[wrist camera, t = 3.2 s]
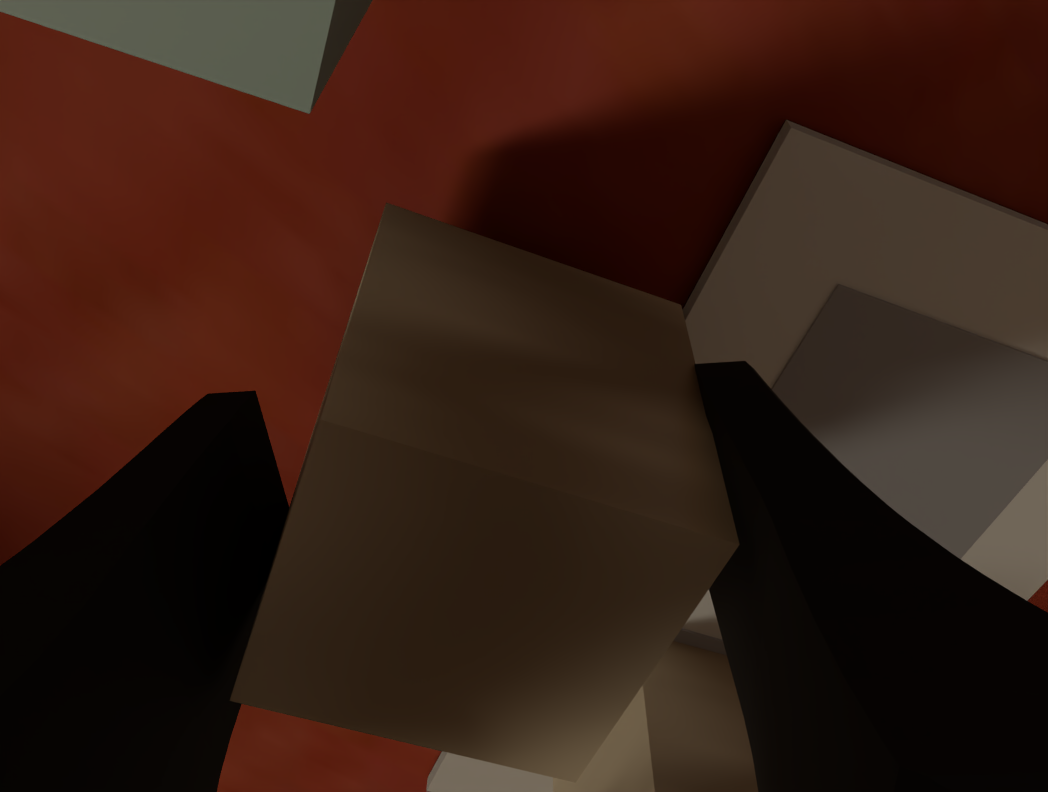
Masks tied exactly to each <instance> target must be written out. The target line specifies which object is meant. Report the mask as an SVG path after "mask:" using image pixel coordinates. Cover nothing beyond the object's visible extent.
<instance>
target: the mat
mask: <svg viewBox="0 0 1048 792" xmlns="http://www.w3.org/2000/svg"><path fill="white" fill-rule="evenodd" d="M683 314H684V318H685V322H686V327H687V331H688V335H689V339H690V343H691V347H692V351H693V355H694V359H695V364H701V363H717V362H733V361H746V362H747V363H748V364H749V365H751V366H752V367H753V368H754V369H755V370H756V372H757V373H758V374H759V375H760V376H761V378H762V379H763V380H764V381H765V382H766V383H767V385H768V386H769V387H770V388H771V389H772V390H773V392H774V393H775V394H776V395H777V396H778V397H779V398H780V400H781V401H782V402H783V403H784V404H785V405H786V406H787V407H788V408H789V410H790V411H791V412H792V413H793V414H794V415H795V416H796V417H797V418H798V419H799V421H800V422H801V423H802V424H803V425H804V426H805V427H806V428H807V429H808V430H809V431H810V432H811V433H812V434H813V435H814V436H815V437H816V438H817V439H818V440H819V441H820V442H821V443H822V444H823V445H824V446H825V447H826V448H827V449H828V450H829V451H830V452H831V453H832V454H833V455H834V456H835V457H836V458H837V459H838V460H839V461H840V462H841V463H842V464H843V465H844V466H845V467H846V468H847V469H848V470H849V471H850V472H851V473H852V474H854V475H855V476H856V477H857V478H858V479H859V480H860V481H861V482H862V483H863V484H864V485H866V486H867V487H868V488H869V489H870V490H871V491H872V492H874V493H875V494H876V495H877V496H878V497H879V498H880V499H882V500H883V501H884V502H885V503H886V504H887V505H888V506H890V507H891V508H892V509H893V510H894V511H896V512H897V513H898V514H899V515H901V516H902V517H903V518H904V519H906V520H907V521H908V522H910V523H911V524H912V525H914V526H915V527H916V528H918V529H919V530H921V531H922V532H923V533H925V534H926V535H927V536H929V537H930V538H932V539H933V540H934V541H936V542H937V543H938V544H940V545H941V546H942V547H944V548H945V549H947V550H948V551H949V552H951V553H952V554H954V555H955V556H956V557H958V558H959V559H961V560H962V561H964V562H965V563H967V564H969V565H970V566H972V567H973V568H975V569H976V570H978V571H979V572H981V573H982V574H984V575H985V576H987V577H989V578H990V579H992V580H994V581H995V582H997V583H999V584H1000V585H1002V586H1003V587H1005V588H1007V589H1008V590H1010V591H1012V592H1013V593H1015V594H1017V595H1018V596H1020V597H1022V598H1023V599H1025V600H1026V601H1027V600H1028V599H1029V598H1030V597H1031V596H1032V595H1033V594H1034V593H1035V592H1036V591H1037V590H1038V589H1039V588H1040V587H1041V586H1042V585H1043V584H1044V583H1045V582H1046V581H1047V580H1048V224H1046V223H1043V222H1041V221H1038V220H1036V219H1033V218H1031V217H1028V216H1026V215H1023V214H1021V213H1018V212H1016V211H1013V210H1011V209H1008V208H1006V207H1003V206H1001V205H998V204H996V203H993V202H991V201H988V200H986V199H983V198H981V197H978V196H976V195H973V194H971V193H968V192H966V191H963V190H961V189H958V188H956V187H953V186H951V185H948V184H946V183H943V182H941V181H938V180H936V179H933V178H931V177H928V176H926V175H923V174H921V173H918V172H916V171H913V170H911V169H908V168H906V167H903V166H901V165H898V164H896V163H893V162H891V161H888V160H886V159H883V158H881V157H878V156H876V155H873V154H871V153H868V152H866V151H863V150H861V149H858V148H856V147H853V146H851V145H848V144H846V143H843V142H841V141H838V140H836V139H833V138H831V137H828V136H826V135H823V134H821V133H818V132H816V131H813V130H811V129H808V128H806V127H803V126H801V125H798V124H796V123H793V122H791V121H788V120H786V121H785V123H784V125H783V126H782V128H781V130H780V132H779V134H778V136H777V137H776V139H775V141H774V143H773V145H772V147H771V148H770V150H769V152H768V154H767V156H766V158H765V159H764V161H763V163H762V165H761V167H760V169H759V170H758V172H757V174H756V176H755V178H754V180H753V181H752V183H751V185H750V187H749V189H748V191H747V192H746V194H745V196H744V198H743V200H742V202H741V204H740V205H739V207H738V209H737V211H736V213H735V215H734V216H733V218H732V220H731V222H730V224H729V226H728V227H727V229H726V231H725V233H724V235H723V237H722V238H721V240H720V242H719V244H718V246H717V248H716V249H715V251H714V253H713V255H712V257H711V259H710V260H709V262H708V264H707V266H706V268H705V270H704V271H703V273H702V275H701V277H700V279H699V281H698V282H697V284H696V286H695V288H694V290H693V292H692V293H691V295H690V297H689V299H688V301H687V303H686V304H685V306H684V308H683ZM673 641H676V642H679V643H683V644H687V645H690V646H694V647H698V648H701V649H705V650H709V651H712V652H716V653H719V654H723V655H727V654H726V651H725V647H724V643H723V640H722V636H721V632H720V629H719V625H718V621H717V618H716V614H715V610H714V607H713V603H712V599H711V595H710V592H709V590H708V591H707V593H706V594H705V595H704V597H703V598H702V600H701V601H700V603H699V604H698V606H697V607H696V609H695V610H694V611H693V613H692V614H691V616H690V617H689V619H688V620H687V622H686V623H685V624H684V626H683V627H682V629H681V630H680V632H679V633H678V635H677V636H676V638H675V639H674V640H673ZM427 791H430V792H553V777H549V776H545V775H540V774H536V773H532V772H528V771H524V770H519V769H515V768H511V767H507V766H502V765H498V764H494V763H490V762H486V761H481V760H477V759H473V758H469V757H465V756H460V755H456V754H452V753H448V752H443V751H442V753H441V754H440V756H439V758H438V760H437V762H436V764H435V765H434V767H433V769H432V771H431V773H430V775H429V776H428V781H427Z"/></svg>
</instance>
